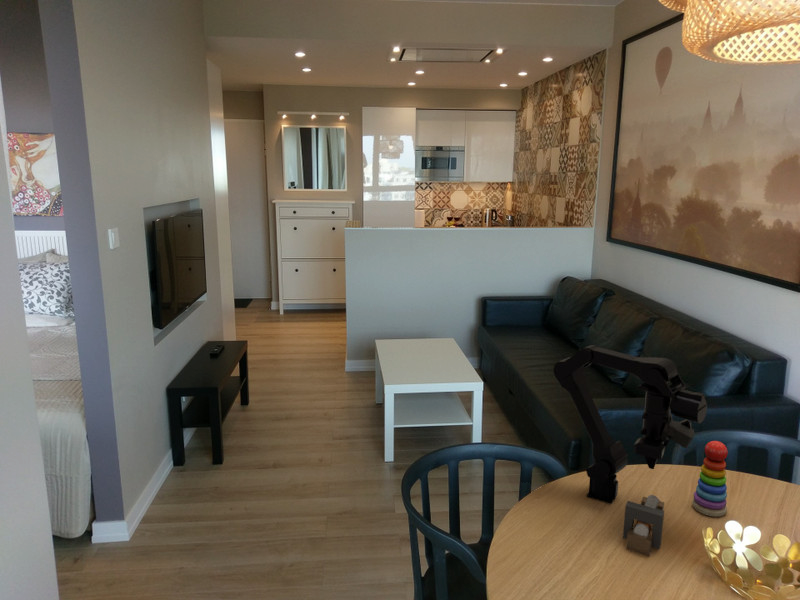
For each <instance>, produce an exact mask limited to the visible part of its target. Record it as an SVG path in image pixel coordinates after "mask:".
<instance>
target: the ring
mask: <svg viewBox="0 0 800 600" xmlns="http://www.w3.org/2000/svg"><path fill="white" fill-rule="evenodd" d="M624 509H625V510H624V519H623V521H624V522H623V529H622V530H623V532H622V538H623V539H626V540H627V535H628V532H629V529H633V530H634V529H635V528H634V526H635V520H636V521H637V520H639V521H642V522H645V523H649V524H652V529H651V535H653V539H652V548H653V549H656V550H660V548H661V545H662V538H663V537H662V535H663V526H664V520H665V519H664V517H665V510H663V511H662V510H659V509H655V508H651V507H648V506H644V505H641V503H637V502H633V501H630V500H627V502H626V504H625V508H624Z"/></svg>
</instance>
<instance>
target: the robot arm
mask: <svg viewBox="0 0 800 600" xmlns="http://www.w3.org/2000/svg"><path fill="white" fill-rule="evenodd" d="M592 364H595V365H597V366H602V367H605V368H609V369H612V370H617V371H620V372H623V373H627V374H630V375H632V376H635V377H636V378H638V379H639V380H640V381H641V382H642V383H641V384H639V385H638V386H637V387H636V388H637V390H641V391H644V392H645V399H644V400H645V401H644V411H643V413H642V418H641V420H642V421H643V422H642V427H641V429H640V435H642V437H639V438H637V439H636V441H635V443H634V444H633V453H634V454H635V455H640V456H643V457H644V459H645V461H646V464H647V466H648V469H649V470H654V469H655V467H656V465H657V462H658V460H662V459H663V456H664V453H665V452H666V449H667V446H668V445H669V442H670V440H671V441H672V442H675V443H676V444H678V445H680V447H682V448H684V449H687V448H688V447H689V446H690V444H691V443H692V441H693V439H694V437H695V433H696V432H695V429H694V428H692V422H694V423H697V424H701V423H703V421H704V420H705V417H706V416H707V412H708V411H707V410H708V404H707V400H706V394H705V393H702V392H695V391H692V390H687V389H686V388H687V386H686V384H685V382H684V381H683V379H682V377H681V376H680V374H679V372H678V367H677V365H676V364H675V362H674V361H673V360H672V359H669V358H665V357H654V356H653V357H640V356H635V355H631V354H627V353H624V352H623V353H622V352H619V351H616V350H611V349H607V348H603V347H599V346H597V345H595V344H590V345H588V346H586V347H583V348H582V349H581V350H580V351H579V352H577V353H575V354H574V355H573V356H569V357H567V358H564V359H562V360H559V361H557V362H556V363H555V364H554V365H553V369H552V373H553V375H554V378H555V379H556V381H557V382H558V384H559V385H560V387H561V388H563V389H564V390H565V391H566V392H568V394H569V395H570V397H571V399H572V402H573V404H574V406H575V408H576V410H577V413H578V415H579V417H580V418H581V421H582V424H583V426H584V428H585V429H586V432H587V434H588V436H589V438H590V439H589V440H591V444H592V458H593V461H594V463H592V465H590V466H588V467H587V468H585V471H586V475H587V477H588V478H589V485H588V492H587V494H586V497H587V498H588V499H589V498H590V499H593V500H597V501H600V502H603V503H608V504H610V505H611V504H612V503H613V502H614V500H615V499H616V498H617V496H618V494H619V493H618V491H619V490H618V489H619V481H618V480H617V474H618V473H619V472H620V471H622V470H623V469H625V468H626V466H627V465H628V461H629V460H628V459H629V458H628V455H629V454H628V452H627V451H626V449H625V447H624V445H623V442H622V441H621V440H618V441H616V440H615V439H614V438H612V437H611V435H610V433H609V431H608V429H607V427H606V425H605V423H604V420H603V418H602V416H601V414H600V413H599V410H598V408H597V406H596V402H595V401H594V399H593V396H592V395H591V392H590V391H589V389H588V383H587V381H588V380H587V379H588V375H587V371H586V368H587V367H589V366H590V365H592ZM669 383H671V384H670V385H669ZM673 416H674V417H677V418H681V419H683V420H681V421H679V420H677V421H676V420H673ZM669 439H670V440H669Z"/></svg>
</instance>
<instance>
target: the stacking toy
mask: <svg viewBox="0 0 800 600" xmlns="http://www.w3.org/2000/svg"><path fill="white" fill-rule="evenodd" d="M704 453H705V456H706V457H705V458H704V459H703V464H702V465H701V467H700V469H701V471H700V472H699V478H698V480H697V486H695V487H696V488H695V489H696V490H695V491H694V492H693V499H692V501H691V503H692V506H693V508H694V509H695V510H696V511H697V512H699V513H700V514H703V515H704V516H709V517H722V516H725V515H726V514H727V512H728V506H727V504H728V503H727V497H728V492H727V488H728V487H727V484H726V483H727V477H726V473H727V472H726V467H727V462H726V461H725V459H726V458H727V457H728V453H729V451H728V448H727V446H726V445H725V444H724V443H722V441H718V440H712V441H708V443H707V444H706V445H705V446H704Z"/></svg>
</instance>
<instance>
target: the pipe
mask: <svg viewBox="0 0 800 600" xmlns="http://www.w3.org/2000/svg"><path fill="white" fill-rule="evenodd" d="M640 504H641V505H644V506H648V507H651V508H655V509H659V510H662V511H665V510H664V508H665V502H664V501H661V500H660V498H659V497H657V496H656V495H654V494H650V495H647V497H646V496H642V498H641V500H640ZM652 529H653V525H652V524H649V523H645V522H642V521H639V520H636V521H635V522H634V528H633V529H629V532H628V535H627V539H626V548H625V549H626V550H629V551H630V552H634V553H638V554H641V555H643V556H647V557H650V556H651V553H652V548H653V547H652V539H653V535H652V534H651V533H652Z"/></svg>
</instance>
